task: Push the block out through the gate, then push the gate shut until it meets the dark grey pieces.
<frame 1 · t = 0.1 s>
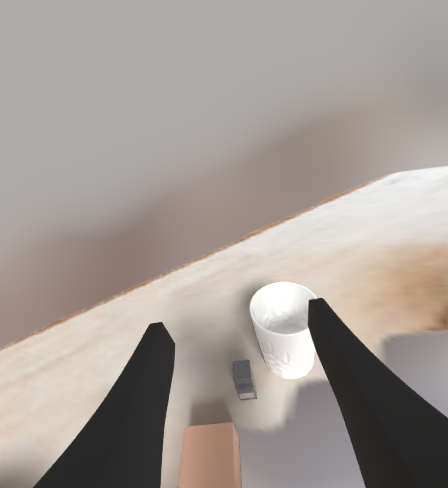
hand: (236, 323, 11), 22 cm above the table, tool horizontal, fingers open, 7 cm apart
block: (216, 469, 23), on the table
white cup: (288, 355, 32), on the table
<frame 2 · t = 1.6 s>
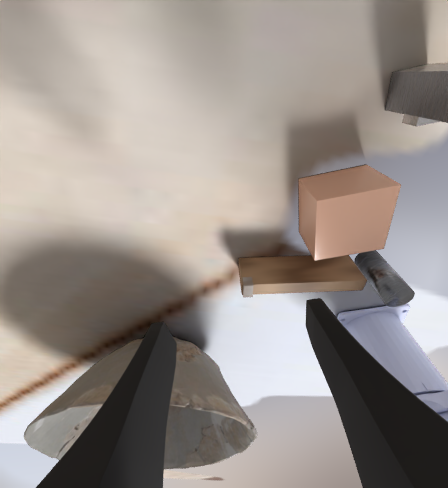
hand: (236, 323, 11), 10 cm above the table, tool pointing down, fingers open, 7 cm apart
dark grey pieces: (366, 258, 22), on the table
ceramic bowl: (164, 351, 32), on the table
gate: (298, 274, 21), point 2 cm above the table, hinge at 80.0°
block: (329, 200, 19), on the table
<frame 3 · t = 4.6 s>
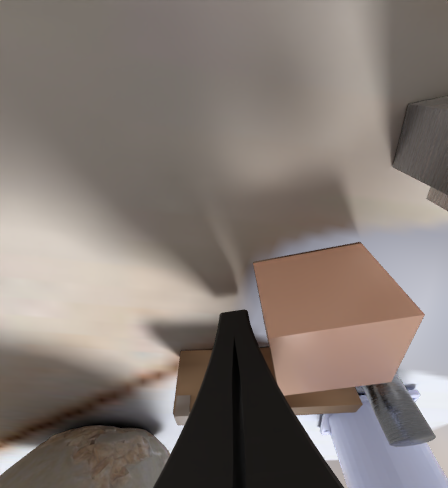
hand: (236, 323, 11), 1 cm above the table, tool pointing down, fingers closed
dark grey pieces: (361, 348, 16), on the table
ceramic bowl: (109, 431, 25), on the table
gate: (262, 381, 14), point 2 cm above the table, hinge at 80.0°
block: (305, 287, 12), on the table, touching gripper
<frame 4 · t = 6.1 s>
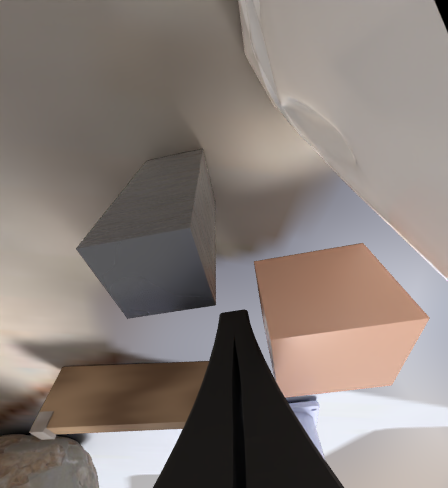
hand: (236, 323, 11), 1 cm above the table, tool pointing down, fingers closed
dark grey pieces: (239, 363, 17), on the table
ceramic bowl: (39, 439, 26), on the table
gate: (132, 396, 15), point 2 cm above the table, hinge at 80.0°
block: (306, 288, 12), on the table, touching gripper
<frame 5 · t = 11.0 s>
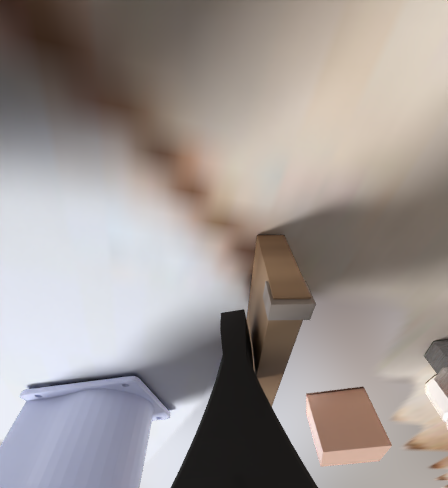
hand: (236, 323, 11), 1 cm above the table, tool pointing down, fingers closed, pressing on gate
dark grey pieces: (248, 371, 17), on the table
gate: (263, 341, 12), point 2 cm above the table, hinge at 78.2°, touching gripper
block: (332, 400, 22), on the table
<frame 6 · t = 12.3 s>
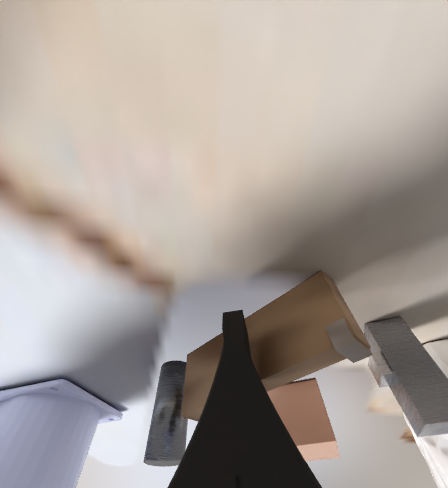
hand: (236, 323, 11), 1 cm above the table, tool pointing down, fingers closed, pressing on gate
dark grey pieces: (176, 368, 17), on the table
gate: (254, 354, 12), point 2 cm above the table, hinge at 28.3°, touching gripper
block: (290, 394, 20), on the table
white cup: (428, 359, 17), on the table
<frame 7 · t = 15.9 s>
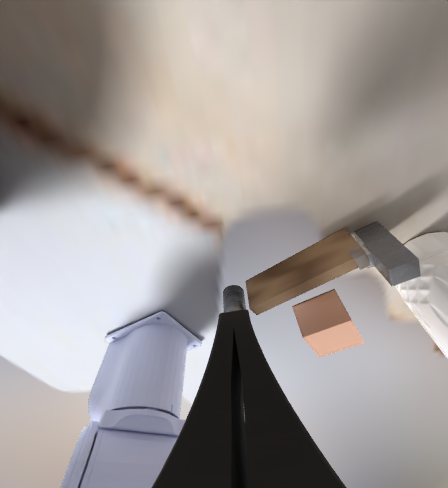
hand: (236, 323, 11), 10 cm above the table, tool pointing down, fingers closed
dark grey pieces: (233, 292, 25), on the table
gate: (299, 273, 21), point 2 cm above the table, hinge at 6.0°, touching dark grey pieces
block: (320, 308, 27), on the table
white cup: (419, 257, 23), on the table
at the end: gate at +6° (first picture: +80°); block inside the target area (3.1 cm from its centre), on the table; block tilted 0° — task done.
